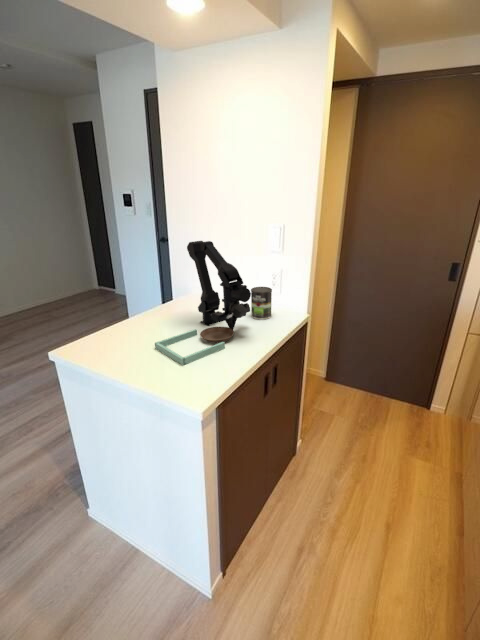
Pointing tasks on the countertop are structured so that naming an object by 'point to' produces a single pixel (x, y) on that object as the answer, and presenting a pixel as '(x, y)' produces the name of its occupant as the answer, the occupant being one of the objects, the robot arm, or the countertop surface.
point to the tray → (191, 357)
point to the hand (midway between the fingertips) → (231, 330)
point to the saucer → (217, 334)
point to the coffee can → (261, 302)
